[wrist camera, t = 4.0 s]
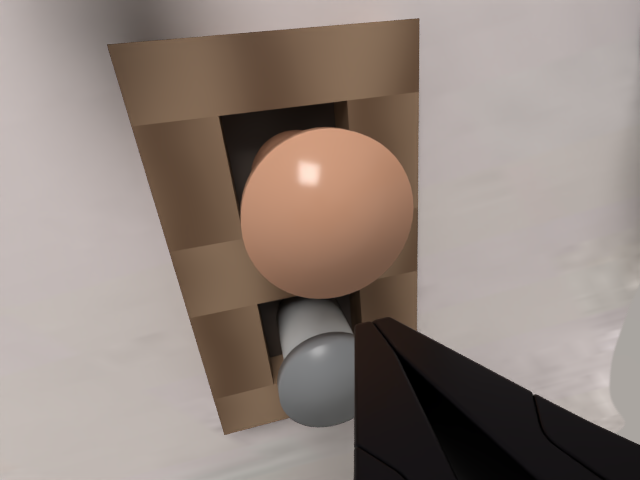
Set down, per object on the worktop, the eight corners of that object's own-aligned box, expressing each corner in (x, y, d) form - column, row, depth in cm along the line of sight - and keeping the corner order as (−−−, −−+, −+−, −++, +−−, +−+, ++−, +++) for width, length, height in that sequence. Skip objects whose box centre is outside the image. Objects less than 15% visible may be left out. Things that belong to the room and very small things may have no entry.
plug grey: (343, 271, 21) (381, 331, 15) (349, 338, 22) (384, 411, 17) (261, 288, 20) (271, 357, 15) (274, 355, 22) (287, 438, 16)
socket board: (394, 28, 17) (419, 18, 15) (399, 357, 25) (416, 383, 23) (126, 51, 15) (107, 44, 13) (225, 401, 23) (224, 434, 21)
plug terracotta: (347, 109, 14) (413, 118, 9) (355, 220, 16) (413, 281, 11) (227, 124, 14) (223, 143, 8) (249, 239, 15) (258, 314, 10)
